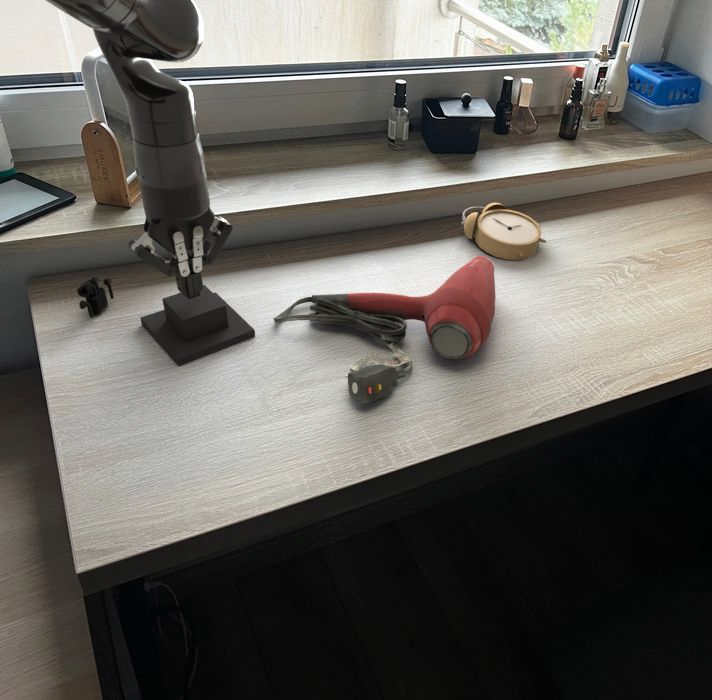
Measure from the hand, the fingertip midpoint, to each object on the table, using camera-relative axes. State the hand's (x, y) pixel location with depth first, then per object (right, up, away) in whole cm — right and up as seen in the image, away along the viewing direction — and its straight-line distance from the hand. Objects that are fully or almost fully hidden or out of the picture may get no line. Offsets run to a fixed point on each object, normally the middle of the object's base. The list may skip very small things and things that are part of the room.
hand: (191, 294), depth 95 cm
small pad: (0, -4, +3) cm, 5 cm away
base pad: (-1, -5, +4) cm, 6 cm away
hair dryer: (+28, -4, +9) cm, 30 cm away
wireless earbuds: (-15, -2, +5) cm, 16 cm away
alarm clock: (+42, +12, +32) cm, 54 cm away
